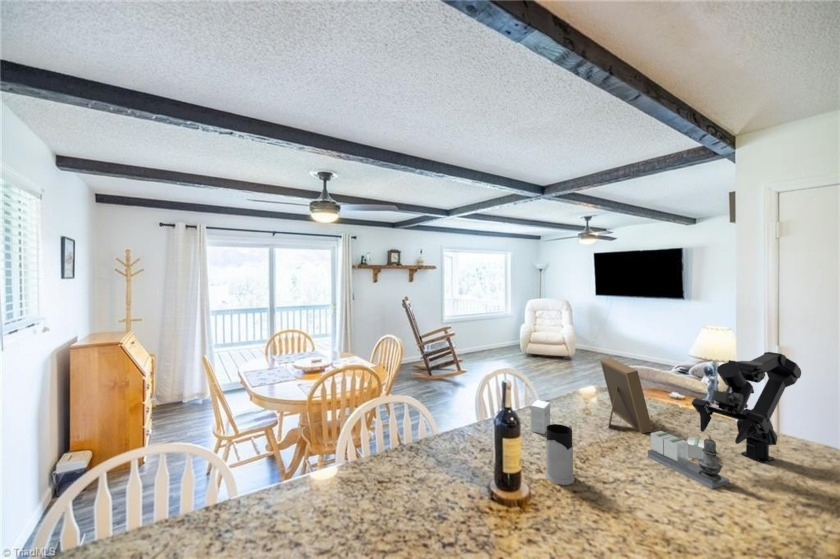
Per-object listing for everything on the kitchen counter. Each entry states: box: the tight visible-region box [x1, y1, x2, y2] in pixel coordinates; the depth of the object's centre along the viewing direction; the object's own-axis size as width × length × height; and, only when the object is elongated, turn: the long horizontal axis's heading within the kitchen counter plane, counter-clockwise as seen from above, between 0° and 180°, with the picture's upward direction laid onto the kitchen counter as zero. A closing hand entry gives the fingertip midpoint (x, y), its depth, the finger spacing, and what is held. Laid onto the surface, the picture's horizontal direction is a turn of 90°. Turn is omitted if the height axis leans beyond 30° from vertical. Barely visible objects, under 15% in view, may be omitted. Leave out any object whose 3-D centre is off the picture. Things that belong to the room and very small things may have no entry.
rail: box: [647, 430, 730, 490], centre depth 117 cm, size 8×20×8 cm, turn 21°
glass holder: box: [544, 423, 575, 486], centre depth 116 cm, size 9×14×15 cm, turn 137°
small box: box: [530, 399, 551, 435], centre depth 148 cm, size 8×6×10 cm
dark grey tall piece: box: [697, 436, 723, 480], centre depth 112 cm, size 6×6×12 cm
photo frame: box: [599, 357, 653, 434], centre depth 154 cm, size 15×22×25 cm
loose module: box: [686, 436, 705, 460], centre depth 127 cm, size 7×5×5 cm
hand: (718, 437), depth 114 cm, fingers open, 9 cm apart
